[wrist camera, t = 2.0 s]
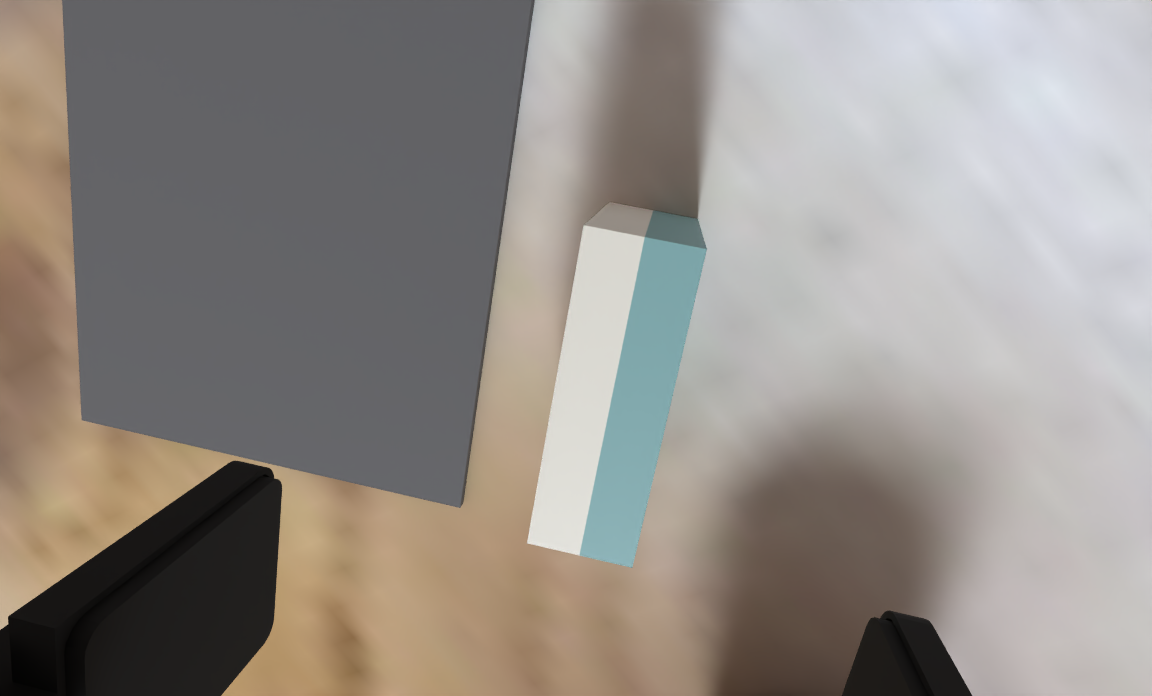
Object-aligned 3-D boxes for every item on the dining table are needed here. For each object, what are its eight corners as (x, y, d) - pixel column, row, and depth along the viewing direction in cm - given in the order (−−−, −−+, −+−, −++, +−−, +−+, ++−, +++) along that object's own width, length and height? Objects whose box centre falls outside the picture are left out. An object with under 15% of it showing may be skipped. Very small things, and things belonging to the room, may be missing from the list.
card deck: (609, 201, 23) (583, 225, 17) (697, 218, 23) (706, 249, 17) (565, 441, 26) (527, 542, 19) (643, 458, 26) (632, 567, 19)
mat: (66, -142, 23) (55, -147, 22) (543, -64, 21) (541, -68, 21) (89, 416, 29) (81, 420, 28) (463, 502, 27) (460, 507, 27)
